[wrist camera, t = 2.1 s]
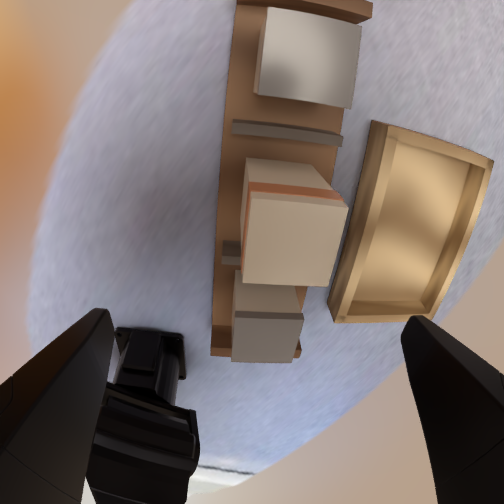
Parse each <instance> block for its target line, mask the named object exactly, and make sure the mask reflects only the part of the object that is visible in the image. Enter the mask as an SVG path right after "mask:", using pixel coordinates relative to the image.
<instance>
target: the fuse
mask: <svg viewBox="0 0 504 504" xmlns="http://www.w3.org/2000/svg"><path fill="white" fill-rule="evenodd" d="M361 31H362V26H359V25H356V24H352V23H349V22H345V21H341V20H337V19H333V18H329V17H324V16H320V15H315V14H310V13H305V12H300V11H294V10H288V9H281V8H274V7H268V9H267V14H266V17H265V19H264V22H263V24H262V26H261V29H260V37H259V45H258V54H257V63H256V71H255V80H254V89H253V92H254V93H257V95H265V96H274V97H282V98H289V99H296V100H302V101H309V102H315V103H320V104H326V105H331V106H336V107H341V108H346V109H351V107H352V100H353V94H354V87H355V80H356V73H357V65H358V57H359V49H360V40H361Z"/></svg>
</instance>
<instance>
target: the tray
mask: <svg viewBox="0 0 504 504" xmlns="http://www.w3.org/2000/svg"><path fill="white" fill-rule="evenodd" d="M493 164H494V161H493V160H491V159H489V158H487V157H485V156H482V155H480V154H478V153H476V152H473V151H471V150H468V149H466V148H463V147H460V146H457V145H455V144H452V143H449V142H446V141H443V140H440V139H437V138H434V137H431V136H428V135H425V134H422V133H418V132H415V131H412V130H408V129H405V128H401V127H398V126H394V125H390V124H386V123H382V122H378V121H374V120H372V122H371V127H370V133H369V138H368V143H367V148H366V153H365V158H364V163H363V168H362V173H361V177H360V182H359V186H358V190H357V195H356V199H355V203H354V207H353V211H352V216H351V220H350V223H349V227H348V231H347V235H346V239H345V243H344V246H343V250H342V254H341V257H340V261H339V264H338V268H337V271H336V275H335V278H334V281H333V285H332V288H331V291H330V295H329V298H328V301H327V305H328V307H329V310H330V313H331V316H332V318H333V321H334V323H379V322H406V321H408V319H409V318H410V317H411V316H412V315H423V316H425V317H426V318H428V319H429V320H432V319H433V317H434V315H435V313H436V311H437V309H438V308H439V306H440V304H441V302H442V300H443V298H444V296H445V294H446V292H447V290H448V287H449V285H450V283H451V281H452V279H453V277H454V275H455V272H456V270H457V268H458V266H459V263H460V261H461V259H462V256H463V254H464V252H465V249H466V247H467V244H468V242H469V239H470V236H471V234H472V231H473V228H474V226H475V223H476V220H477V217H478V214H479V211H480V208H481V205H482V202H483V199H484V196H485V193H486V189H487V186H488V183H489V179H490V175H491V172H492V168H493Z"/></svg>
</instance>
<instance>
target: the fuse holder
mask: <svg viewBox="0 0 504 504" xmlns="http://www.w3.org/2000/svg"><path fill="white" fill-rule="evenodd" d="M268 7H274V8H281V9H288V10H294V11H300V12H305V13H310V14H315V15H320V16H324V17H329V18H333V19H337V20H341V21H345V22H349V23H352V24H358V23H361V22H363V21H365V20H368V19H370V18H372V8H373V3H372V2H369V1H365V0H237V5H236V13H235V21H234V29H233V37H232V46H231V55H230V64H229V73H228V83H227V93H226V104H225V114H224V126H223V137H222V150H221V163H220V176H219V191H218V207H217V223H216V242H215V262H214V286H213V314H212V335H211V356H222V357H231V349H232V304H233V292H234V281H235V270H241V227H240V215H241V205H242V194H243V184H244V174H245V164H246V158H257V159H267V160H277V161H286V162H295V163H303V164H311V165H312V166H313V167H314V168H315V169H316V170H317V172H318V173H319V174H320V175H321V176H322V177H323V178H324V179H325V181H326V182H327V183H328V184H329V185H330V186H331V181H332V176H333V170H334V165H335V160H336V154H337V149H338V147H342V141H343V136H341V135H340V132H341V126H342V120H343V113H344V108H341V107H336V106H331V105H326V104H320V103H315V102H309V101H302V100H296V99H289V98H282V97H274V96H265V95H257V93H254V92H253V89H254V80H255V71H256V63H257V54H258V45H259V37H260V29H261V26H262V24H263V22H264V19H265V17H266V14H267V9H268ZM307 287H308V286H295V290H296V294H297V298H298V302H299V305H300V309H301V311H302V307H303V303H304V299H305V295H306V291H307ZM301 351H302V349H301V345H300V340H298V343H297V346H296V350H295V353H294V356H293V358H299V357H300V354H301Z"/></svg>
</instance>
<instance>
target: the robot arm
mask: <svg viewBox="0 0 504 504" xmlns="http://www.w3.org/2000/svg"><path fill="white" fill-rule="evenodd" d="M120 333H121V334H120ZM114 338H116V342H117V345H118V349H119V352H120V356H121V357H120V360H119V363H118V366H117V370H116V373H115V376H114V380H113V383H110V382H108V381H107V378H108V372H109V366H110V360H111V354H112V348H113V343H114ZM177 339H179V340H177ZM401 344H402V349H403V353H404V358H405V363H406V368H407V372H408V377H409V381H410V385H411V389H412V392H413V395H414V399H415V402H416V406H417V410H418V413H419V417H420V421H421V424H422V429H423V433H424V436H425V440H426V445H427V449H428V454H429V458H430V463H431V468H432V473H433V478H434V483H435V487H436V488H435V489H436V495H437V501H438V504H504V375H503V374H502V373H499V371H498V370H497V369H495V368H494V367H493V366H492V365H490V364H489V363H487V362H486V361H485V360H484V359H482V358H481V357H480V356H478V355H477V354H476V353H474V352H473V351H472V350H470V349H469V348H468V347H466V346H465V345H463V344H462V343H461V342H459V341H458V340H457V339H455V338H454V337H453V336H451V335H450V334H449V333H447V332H446V331H444V330H443V329H441V328H440V327H439V326H437V325H436V324H435V323H433V322H432V321H430V320H429V319H428V318H426V317H425V316H423V315H412V316H411V317H410V318H409V319H408V321H407V323H406V325H405V327H404V329H403V331H402V334H401ZM184 379H186V363H185V350H184V338H183V336H182V335H180V334H171V333H160V332H151V331H141V330H133V329H125V328H116V330H114V326H113V323H112V319H111V316H110V313H109V311H108V310H107V309H103V308H94V309H92V310H91V311H90V312H89V313H87V314H86V315H85V316H83V317H82V318H81V319H80V320H78V321H77V322H76V323H75V324H73V325H72V326H71V327H69V328H68V329H67V330H66V331H64V332H63V333H62V334H61V335H60V336H58V337H57V338H56V339H55V340H53V341H52V342H51V343H50V344H48V345H47V346H46V347H45V348H44V349H42V350H41V351H40V352H39V353H38V354H36V355H35V356H34V357H33V358H32V359H30V360H29V361H28V362H27V363H26V364H24V365H23V366H22V367H21V368H20V369H19V370H17V371H16V372H15V373H14V374H13V376H10V377H9V378H8V379H7V380H6V381H5V382H3V383H2V384H1V385H0V504H81V500H82V494H83V486H84V481H85V476H86V479H87V482H88V484H89V487H90V490H91V492H92V495H93V497H94V499H95V502H96V504H185V502H186V500H187V491H188V483H189V478H190V476H192V475H193V473H194V472H195V470H196V467H197V465H198V461H199V456H200V441H199V434H198V426H197V418H196V411H195V410H191V409H189V410H188V409H184V408H181V407H178V406H175V399H176V391H177V384H178V380H184Z"/></svg>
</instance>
